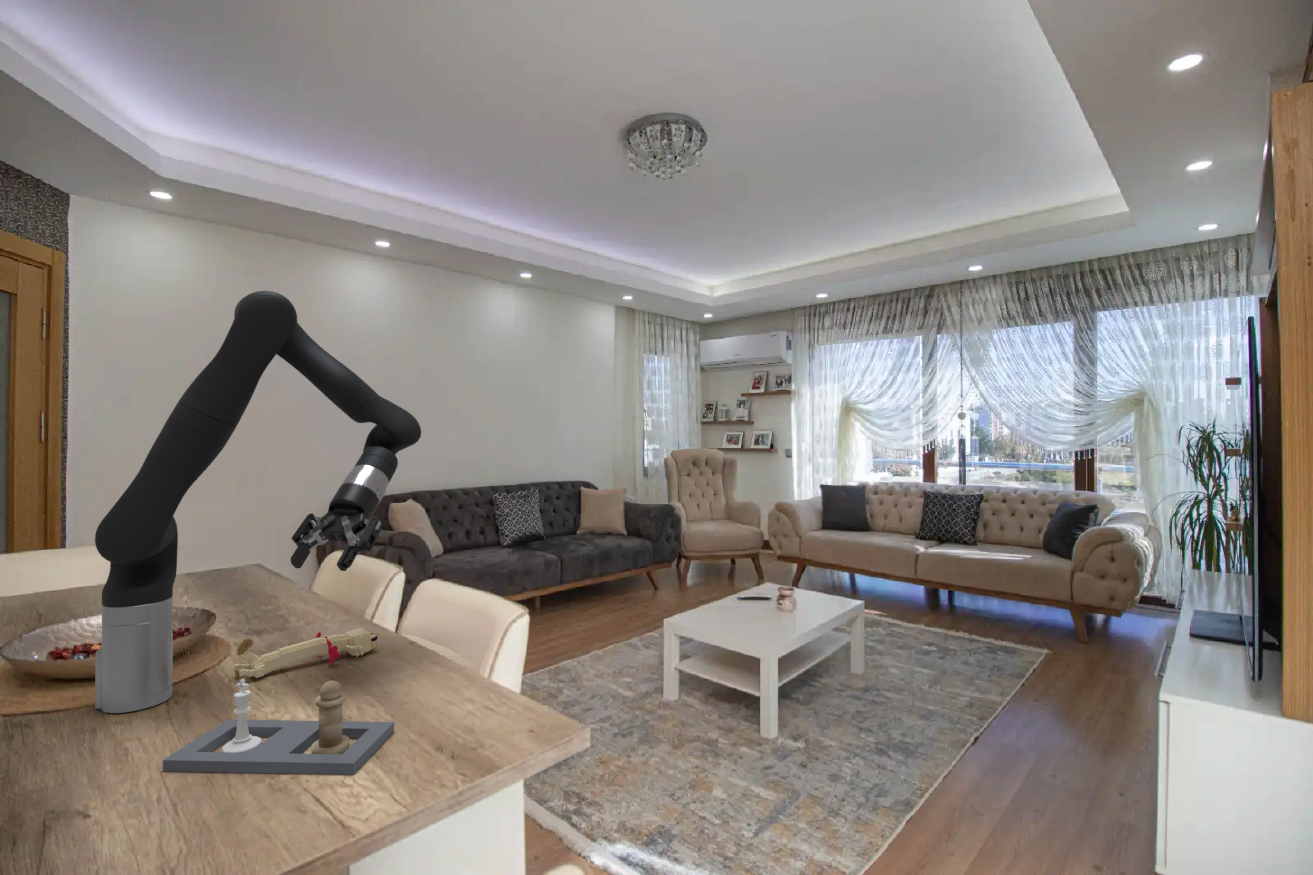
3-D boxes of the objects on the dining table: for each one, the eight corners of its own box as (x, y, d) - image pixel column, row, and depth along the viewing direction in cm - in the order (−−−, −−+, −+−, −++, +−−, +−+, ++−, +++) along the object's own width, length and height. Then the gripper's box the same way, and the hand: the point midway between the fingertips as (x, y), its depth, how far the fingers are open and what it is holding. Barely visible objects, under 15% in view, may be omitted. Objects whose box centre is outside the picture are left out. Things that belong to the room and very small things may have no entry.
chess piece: (242, 759, 86) (242, 687, 86) (212, 756, 87) (212, 685, 87) (270, 742, 91) (270, 674, 91) (242, 739, 92) (242, 672, 92)
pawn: (304, 759, 86) (304, 687, 86) (323, 742, 91) (323, 674, 91) (338, 760, 86) (338, 688, 86) (355, 743, 91) (355, 675, 91)
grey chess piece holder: (162, 771, 83) (162, 760, 83) (227, 729, 95) (227, 719, 95) (353, 774, 82) (353, 763, 82) (394, 731, 94) (394, 722, 94)
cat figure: (245, 697, 110) (387, 652, 128) (240, 649, 110) (384, 610, 127) (233, 681, 117) (369, 640, 135) (229, 636, 117) (366, 601, 134)
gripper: (316, 480, 115) (268, 552, 104) (387, 482, 113) (347, 556, 102) (334, 505, 120) (290, 577, 109) (402, 508, 119) (365, 581, 107)
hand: (317, 567), depth 105 cm, fingers open, 8 cm apart
